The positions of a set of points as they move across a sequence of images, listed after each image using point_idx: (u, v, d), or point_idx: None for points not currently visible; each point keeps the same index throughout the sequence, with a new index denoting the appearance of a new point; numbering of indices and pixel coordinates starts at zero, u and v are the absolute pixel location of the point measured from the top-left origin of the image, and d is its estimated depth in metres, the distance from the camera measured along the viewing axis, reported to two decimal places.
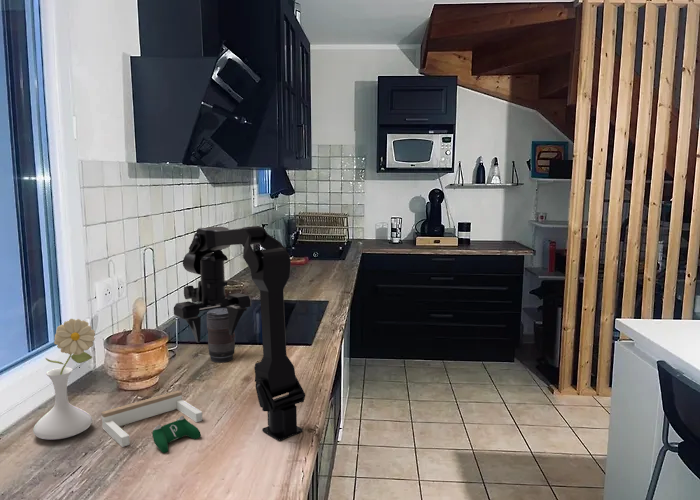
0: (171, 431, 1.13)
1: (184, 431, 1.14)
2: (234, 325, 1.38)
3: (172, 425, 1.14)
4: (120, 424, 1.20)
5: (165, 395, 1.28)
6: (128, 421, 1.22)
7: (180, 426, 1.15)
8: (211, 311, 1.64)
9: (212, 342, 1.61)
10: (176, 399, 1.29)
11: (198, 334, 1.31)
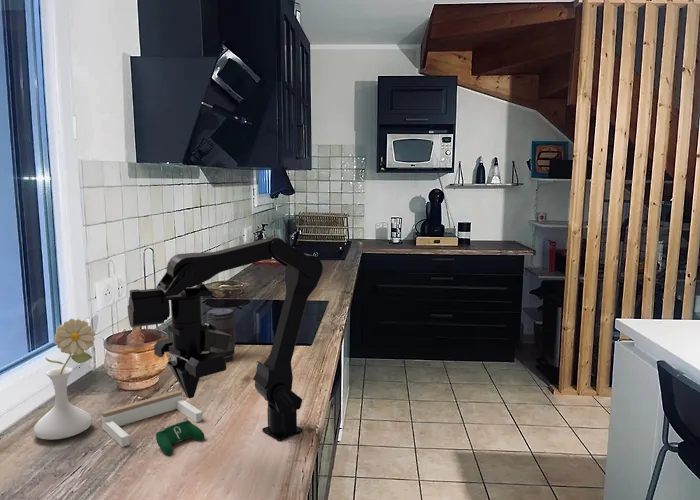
0: (175, 433, 1.12)
1: (188, 433, 1.14)
2: (183, 386, 1.04)
3: (176, 427, 1.13)
4: (120, 424, 1.20)
5: (165, 395, 1.28)
6: (128, 421, 1.22)
7: (184, 428, 1.14)
8: (211, 311, 1.64)
9: None
10: (176, 399, 1.29)
11: (181, 386, 1.05)
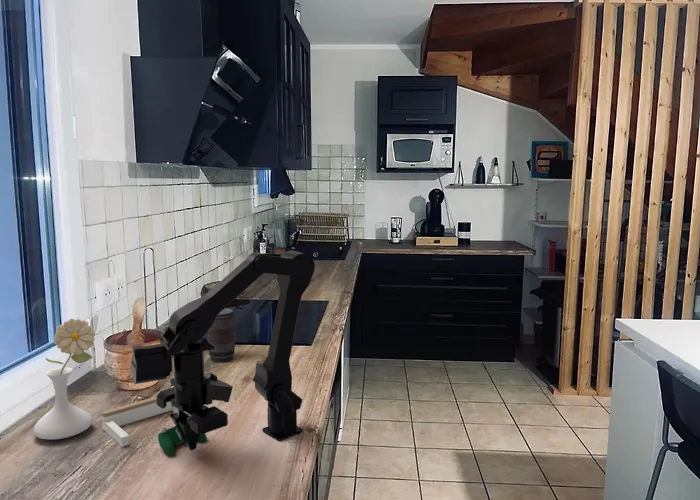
0: (177, 434, 1.11)
1: None
2: (186, 439, 1.06)
3: None
4: (120, 424, 1.20)
5: None
6: (128, 421, 1.22)
7: None
8: None
9: (212, 342, 1.61)
10: None
11: None
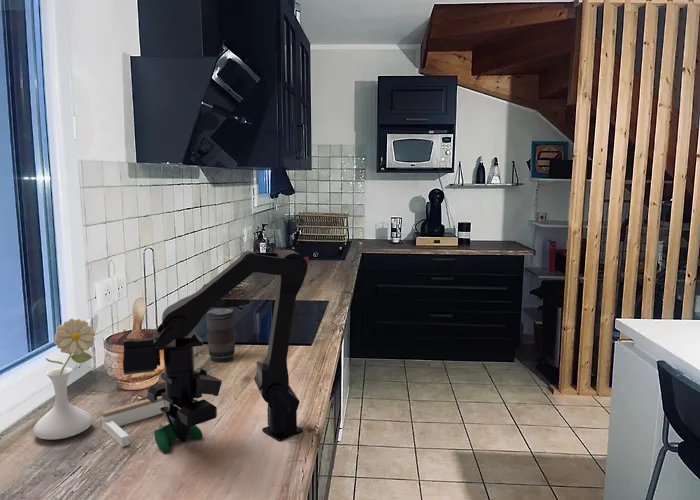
0: (173, 431, 1.13)
1: None
2: (176, 432, 1.09)
3: None
4: (120, 424, 1.20)
5: None
6: (128, 421, 1.22)
7: None
8: (211, 311, 1.64)
9: (212, 342, 1.61)
10: None
11: (174, 431, 1.10)
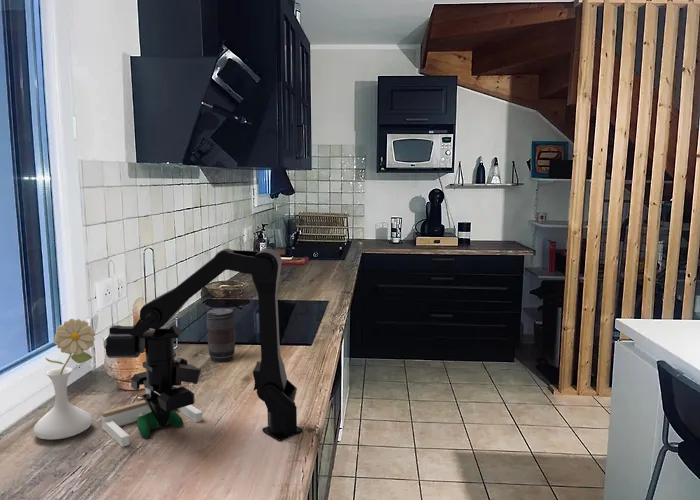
0: (155, 418, 1.19)
1: (168, 419, 1.20)
2: (157, 417, 1.15)
3: None
4: (120, 424, 1.20)
5: None
6: (128, 421, 1.22)
7: None
8: (211, 311, 1.64)
9: (212, 342, 1.61)
10: None
11: (155, 417, 1.16)
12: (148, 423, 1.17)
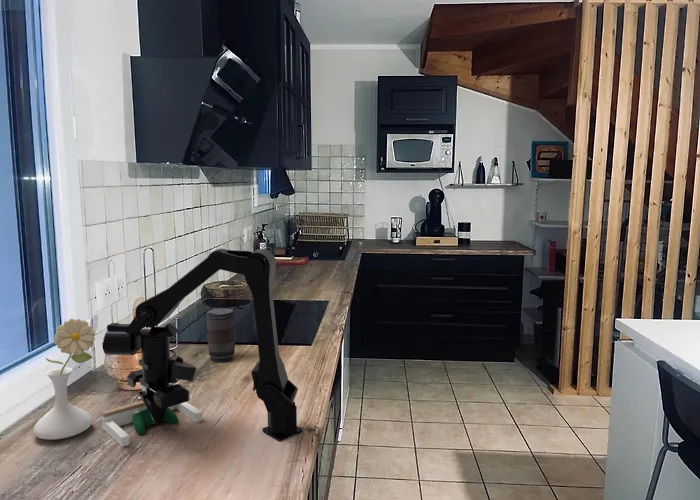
0: (150, 415, 1.20)
1: None
2: (152, 414, 1.17)
3: None
4: (120, 424, 1.20)
5: None
6: (128, 421, 1.22)
7: None
8: (211, 311, 1.64)
9: (212, 342, 1.61)
10: None
11: (151, 414, 1.18)
12: (143, 420, 1.19)
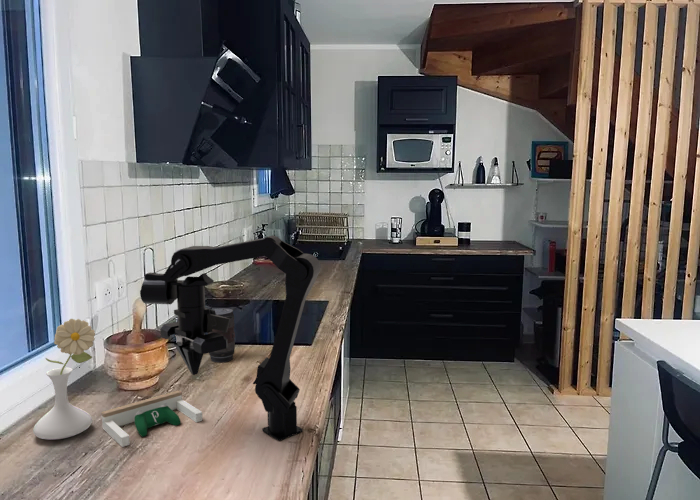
0: (152, 417, 1.20)
1: (165, 417, 1.21)
2: (188, 364, 1.17)
3: (154, 411, 1.21)
4: (120, 424, 1.20)
5: (165, 395, 1.28)
6: (128, 421, 1.22)
7: (162, 413, 1.21)
8: None
9: None
10: (176, 399, 1.29)
11: (186, 364, 1.18)
12: (145, 421, 1.18)
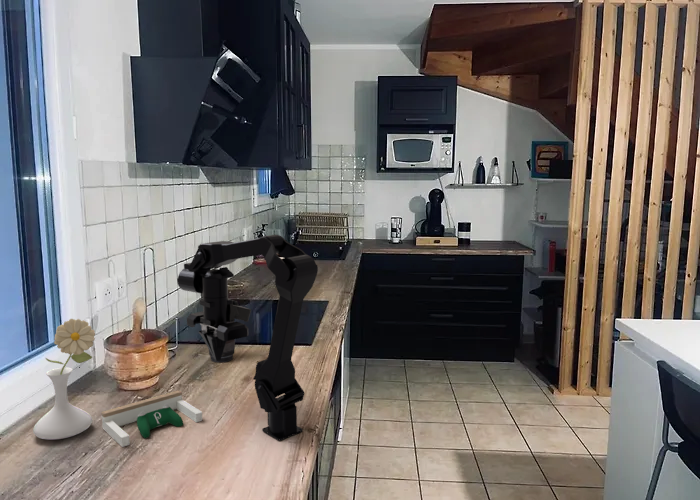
0: (155, 418, 1.19)
1: (167, 419, 1.20)
2: (212, 350, 1.26)
3: (156, 412, 1.20)
4: (120, 424, 1.20)
5: (165, 395, 1.28)
6: (128, 421, 1.22)
7: (164, 414, 1.21)
8: None
9: None
10: (176, 399, 1.29)
11: (210, 351, 1.27)
12: (148, 423, 1.17)
